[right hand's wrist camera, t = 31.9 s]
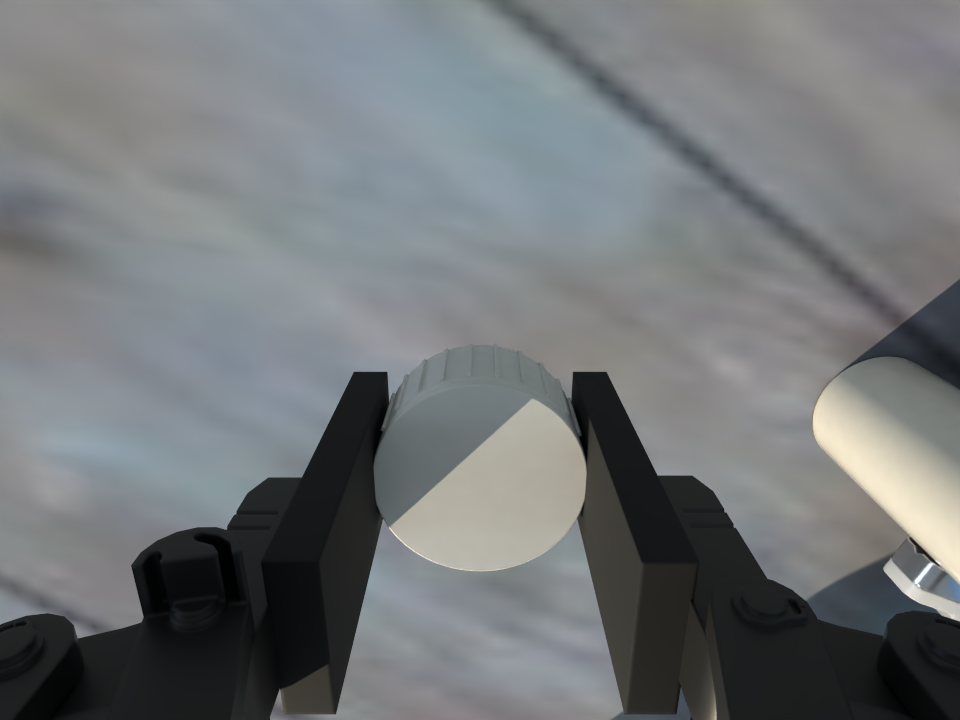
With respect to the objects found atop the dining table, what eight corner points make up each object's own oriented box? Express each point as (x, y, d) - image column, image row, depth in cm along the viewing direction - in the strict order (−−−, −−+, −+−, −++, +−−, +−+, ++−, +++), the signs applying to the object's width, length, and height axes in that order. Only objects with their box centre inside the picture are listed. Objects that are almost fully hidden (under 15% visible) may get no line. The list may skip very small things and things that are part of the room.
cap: (371, 350, 14) (351, 392, 12) (570, 332, 14) (587, 371, 12) (399, 517, 16) (386, 581, 13) (579, 503, 15) (594, 565, 13)
